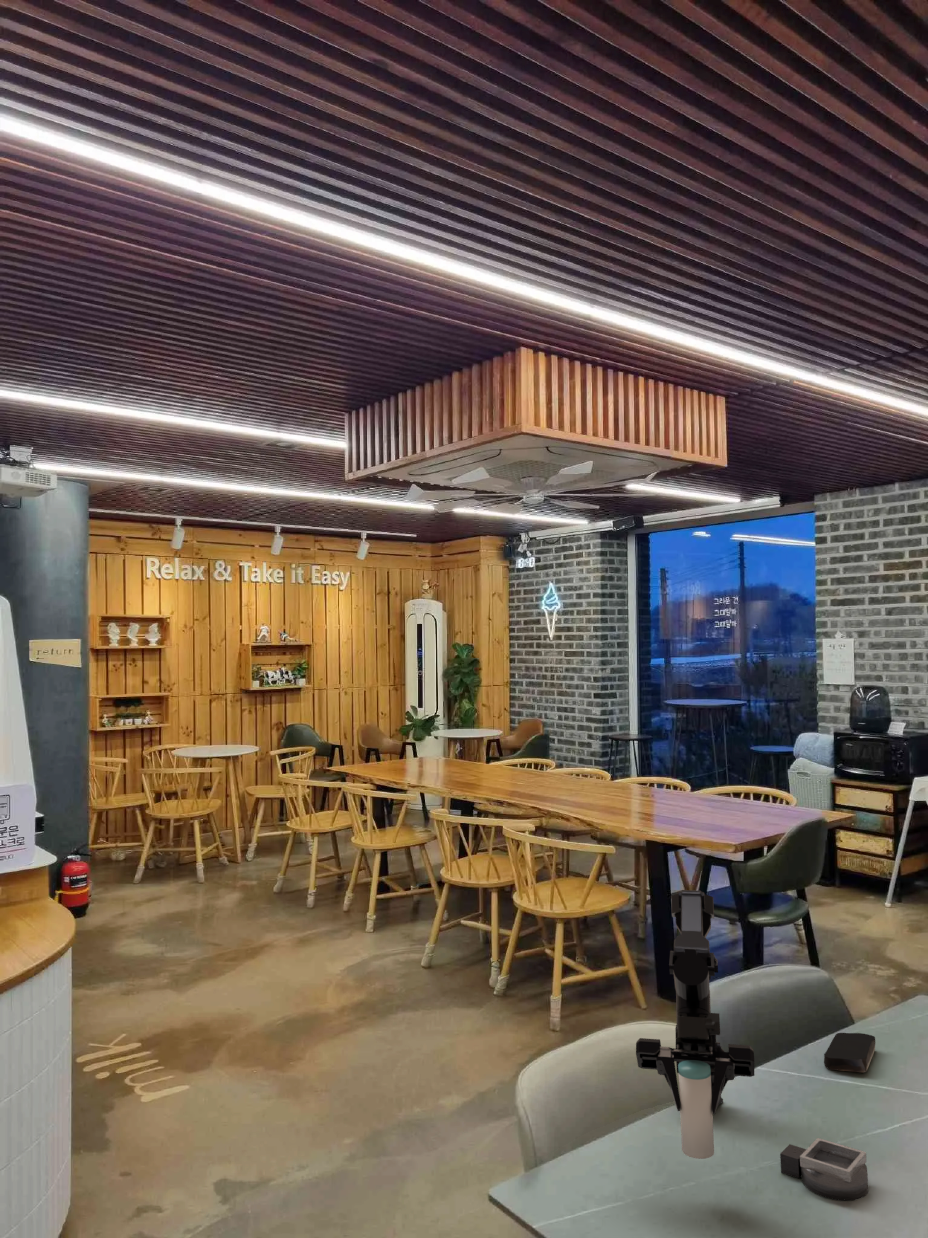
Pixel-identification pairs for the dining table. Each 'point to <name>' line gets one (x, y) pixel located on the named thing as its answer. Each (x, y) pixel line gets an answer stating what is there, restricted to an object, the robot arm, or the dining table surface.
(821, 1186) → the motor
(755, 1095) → the dining table surface
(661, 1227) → the dining table surface
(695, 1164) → the dining table surface
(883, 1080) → the dining table surface
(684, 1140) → the beige teal capped bottle
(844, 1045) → the black sponge
